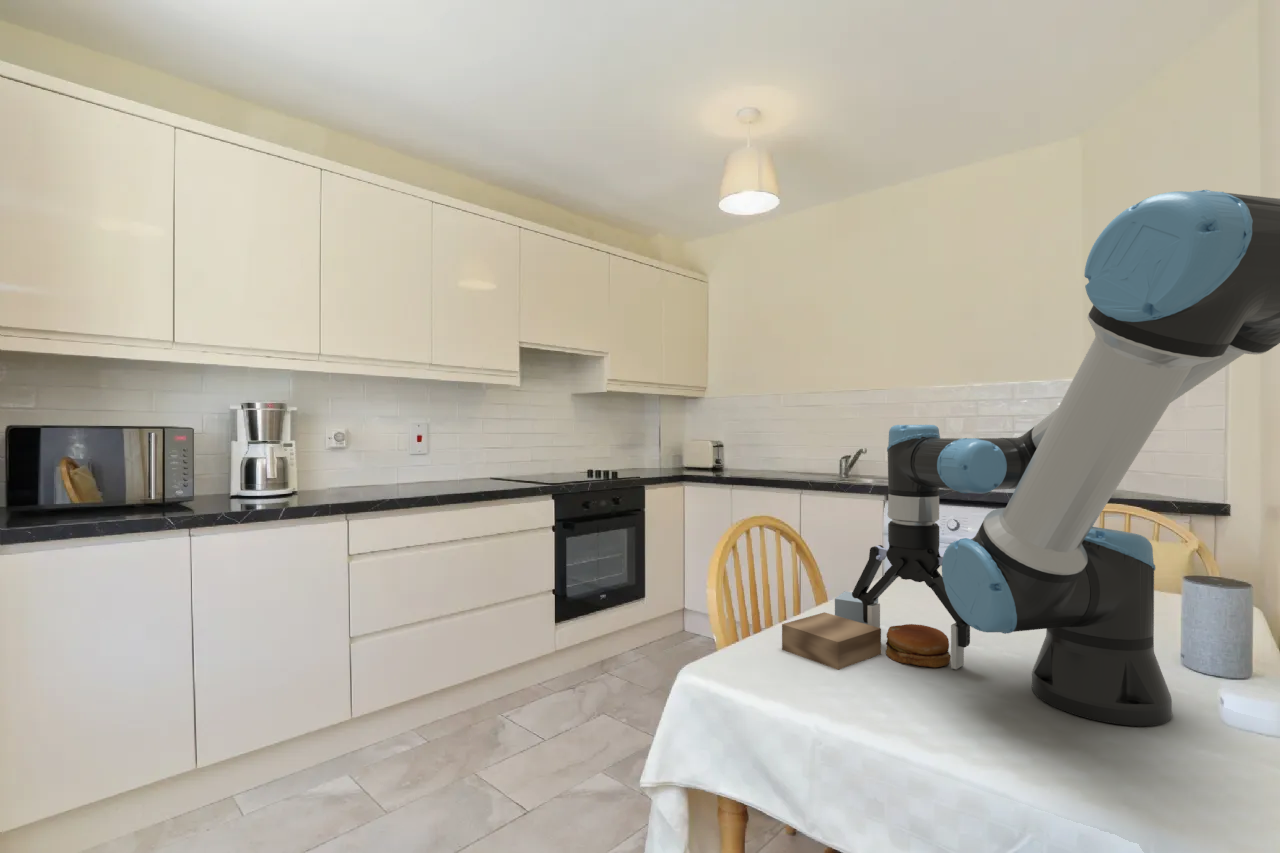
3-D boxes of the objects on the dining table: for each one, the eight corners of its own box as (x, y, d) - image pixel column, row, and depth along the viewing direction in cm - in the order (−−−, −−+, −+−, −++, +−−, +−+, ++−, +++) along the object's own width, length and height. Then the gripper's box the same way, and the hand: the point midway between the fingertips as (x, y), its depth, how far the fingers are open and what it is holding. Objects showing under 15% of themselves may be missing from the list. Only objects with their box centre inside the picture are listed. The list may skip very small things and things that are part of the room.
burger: (959, 670, 97) (959, 639, 97) (895, 668, 98) (894, 637, 98) (937, 648, 106) (937, 620, 106) (879, 646, 108) (879, 618, 108)
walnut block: (880, 656, 104) (880, 628, 104) (838, 672, 97) (838, 642, 97) (824, 638, 112) (824, 612, 112) (782, 651, 106) (782, 624, 106)
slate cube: (878, 629, 116) (878, 596, 116) (869, 638, 111) (869, 603, 111) (844, 623, 120) (844, 591, 120) (834, 632, 115) (834, 598, 115)
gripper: (1007, 528, 96) (1007, 670, 96) (854, 511, 114) (855, 630, 115) (987, 534, 91) (987, 684, 91) (831, 515, 109) (831, 639, 110)
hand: (913, 654), depth 103 cm, fingers open, 13 cm apart
